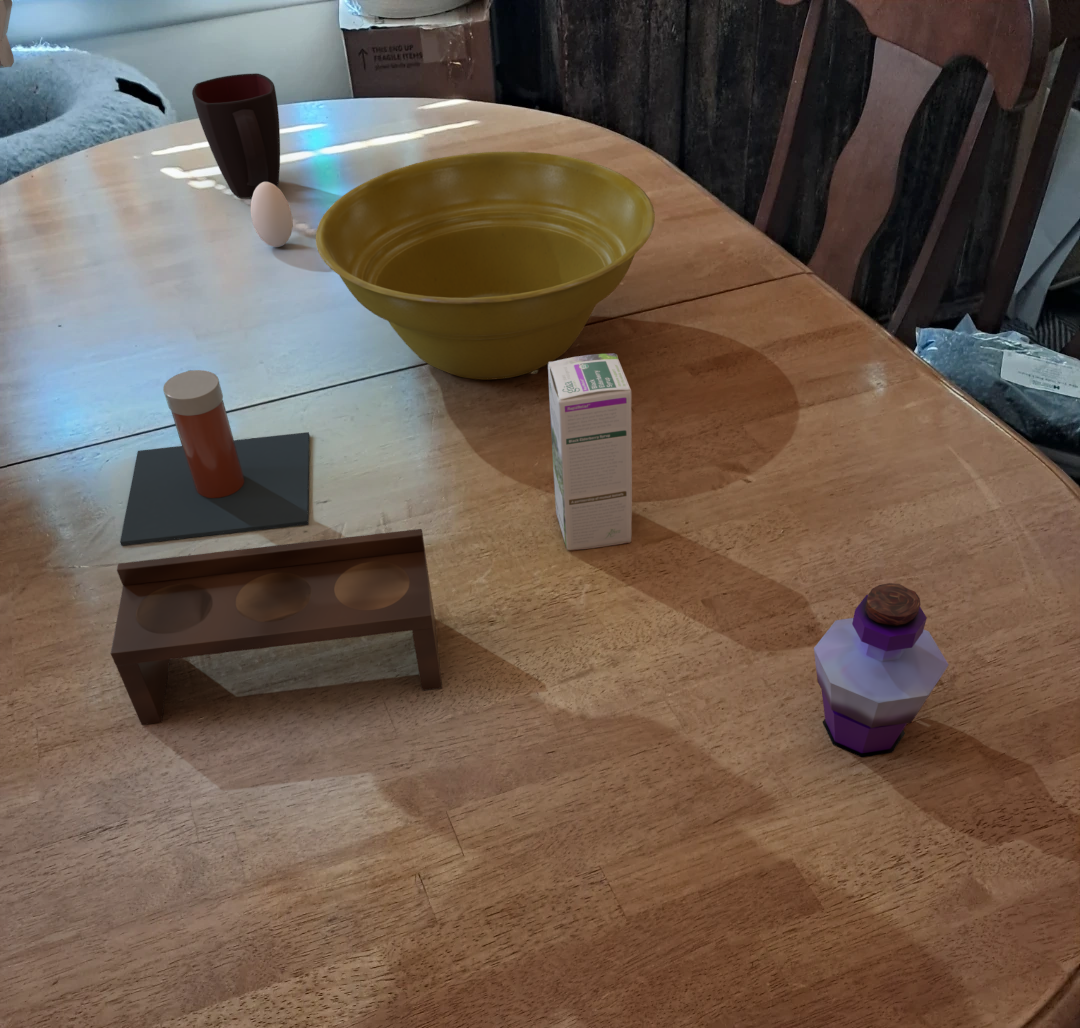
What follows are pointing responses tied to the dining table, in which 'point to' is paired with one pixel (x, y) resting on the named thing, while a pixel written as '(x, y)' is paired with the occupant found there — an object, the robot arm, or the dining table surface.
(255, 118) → the cup
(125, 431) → the dining table surface
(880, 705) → the potion bottle
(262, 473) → the mat
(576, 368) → the syrup box
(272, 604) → the spice shelf
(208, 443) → the shaker
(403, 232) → the planter bowl
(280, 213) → the egg
